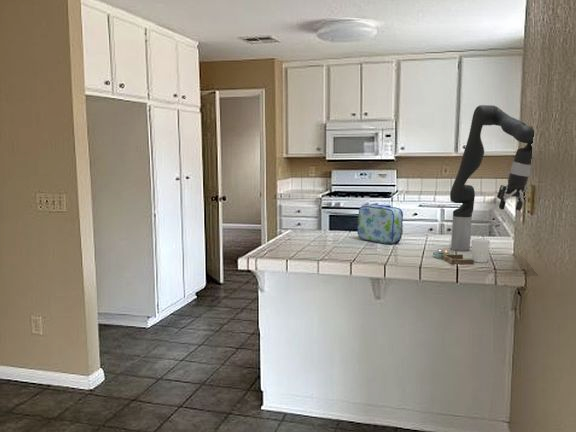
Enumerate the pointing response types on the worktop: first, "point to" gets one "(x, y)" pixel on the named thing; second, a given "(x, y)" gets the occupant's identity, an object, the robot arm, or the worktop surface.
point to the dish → (440, 255)
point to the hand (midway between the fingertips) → (509, 209)
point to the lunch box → (380, 223)
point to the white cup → (480, 250)
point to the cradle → (451, 260)
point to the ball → (439, 251)
